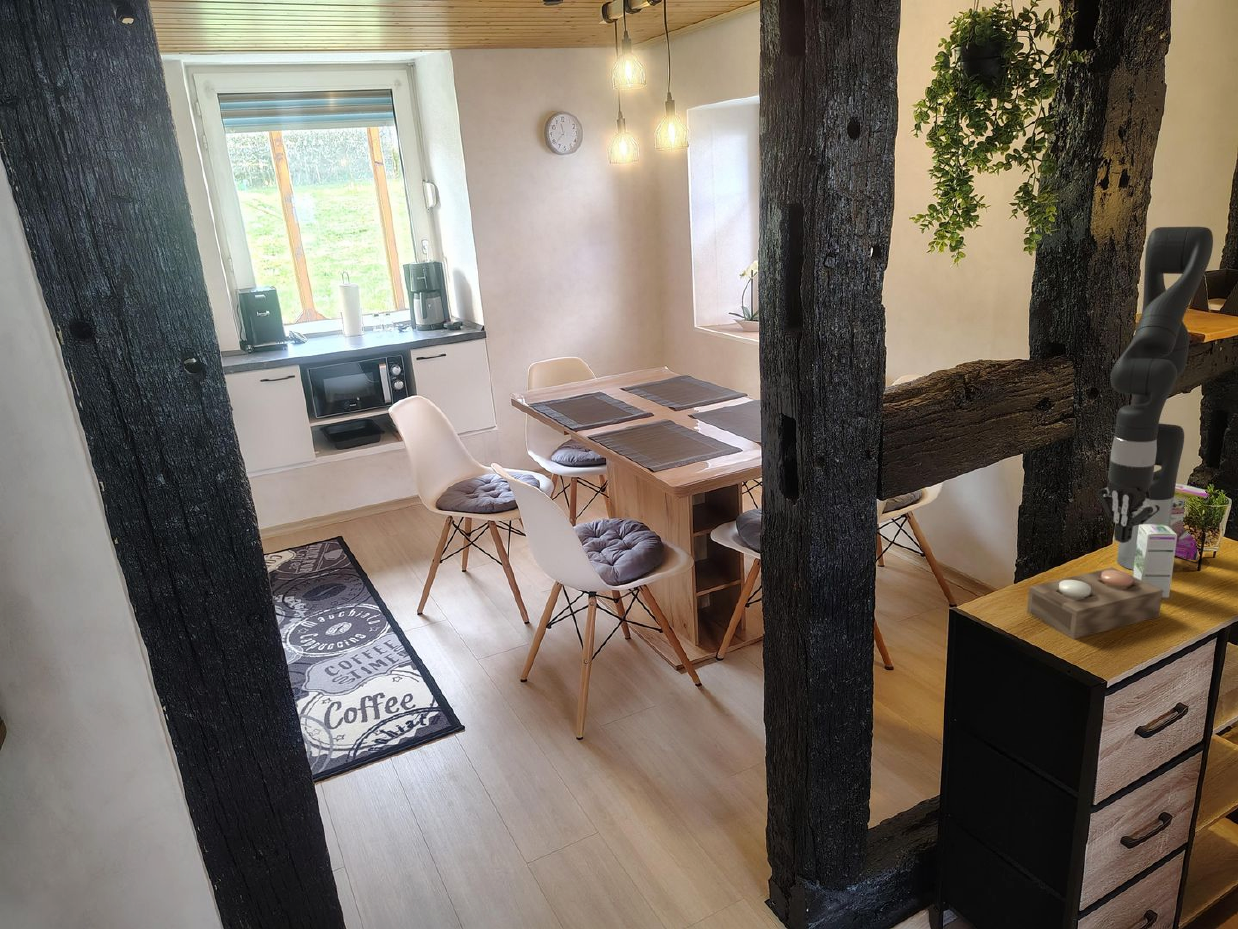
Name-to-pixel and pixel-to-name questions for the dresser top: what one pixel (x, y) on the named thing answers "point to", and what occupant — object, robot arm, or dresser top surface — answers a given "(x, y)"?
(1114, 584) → the terracotta knob
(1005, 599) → the dresser top surface
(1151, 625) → the dresser top surface
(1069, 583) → the cream knob
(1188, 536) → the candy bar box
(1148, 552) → the syrup box
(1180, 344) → the robot arm
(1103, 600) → the brown wooden block
